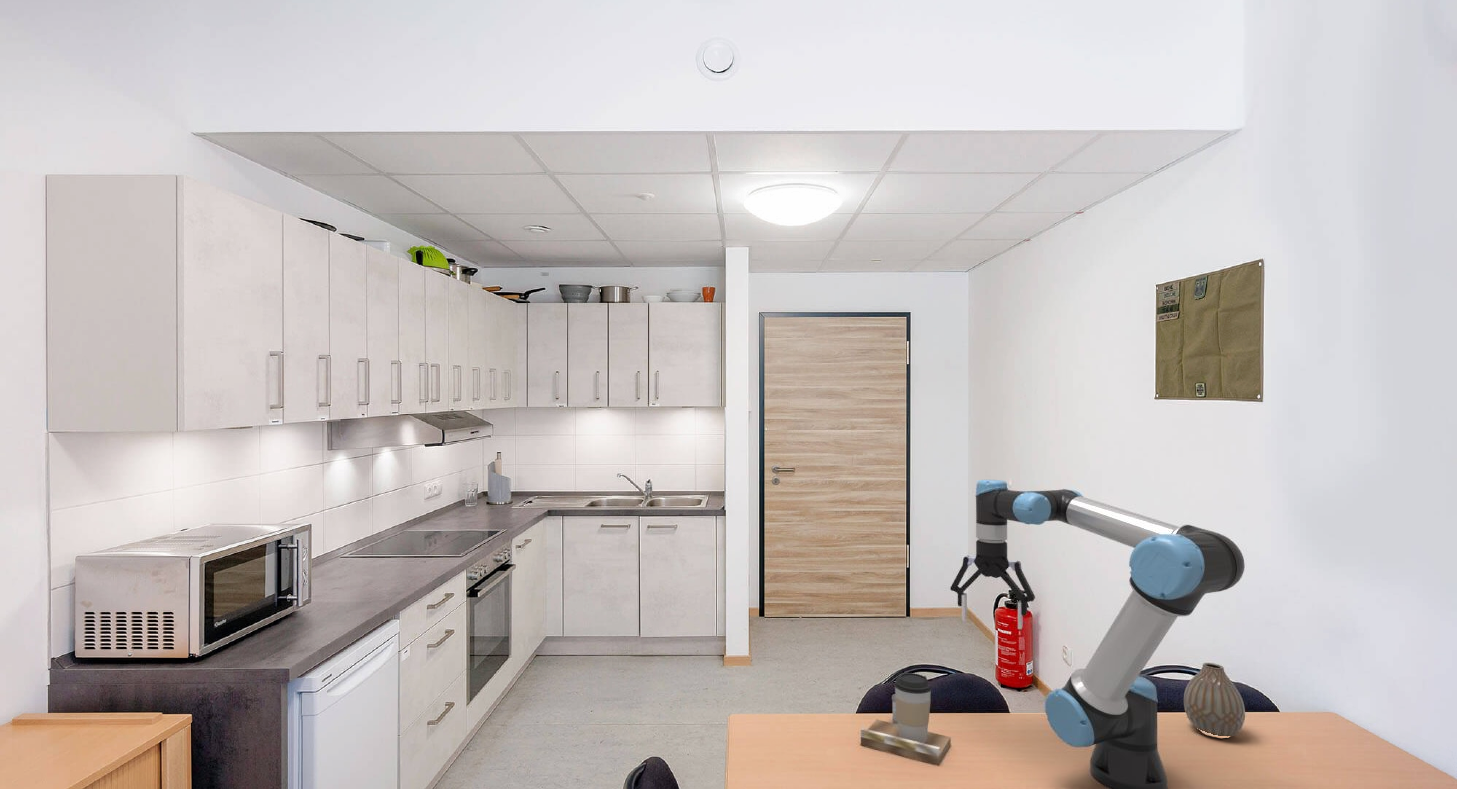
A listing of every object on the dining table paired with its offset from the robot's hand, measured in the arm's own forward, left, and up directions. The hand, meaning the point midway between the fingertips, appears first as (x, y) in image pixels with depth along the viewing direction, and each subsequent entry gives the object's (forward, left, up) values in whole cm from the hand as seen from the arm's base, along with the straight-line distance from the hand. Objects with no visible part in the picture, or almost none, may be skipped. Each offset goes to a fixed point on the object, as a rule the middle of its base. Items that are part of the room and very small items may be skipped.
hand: (991, 623), depth 177 cm
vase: (-49, -34, -29) cm, 66 cm away
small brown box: (+18, +16, -29) cm, 37 cm away
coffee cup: (+16, +16, -27) cm, 35 cm away
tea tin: (+22, +5, -29) cm, 37 cm away
